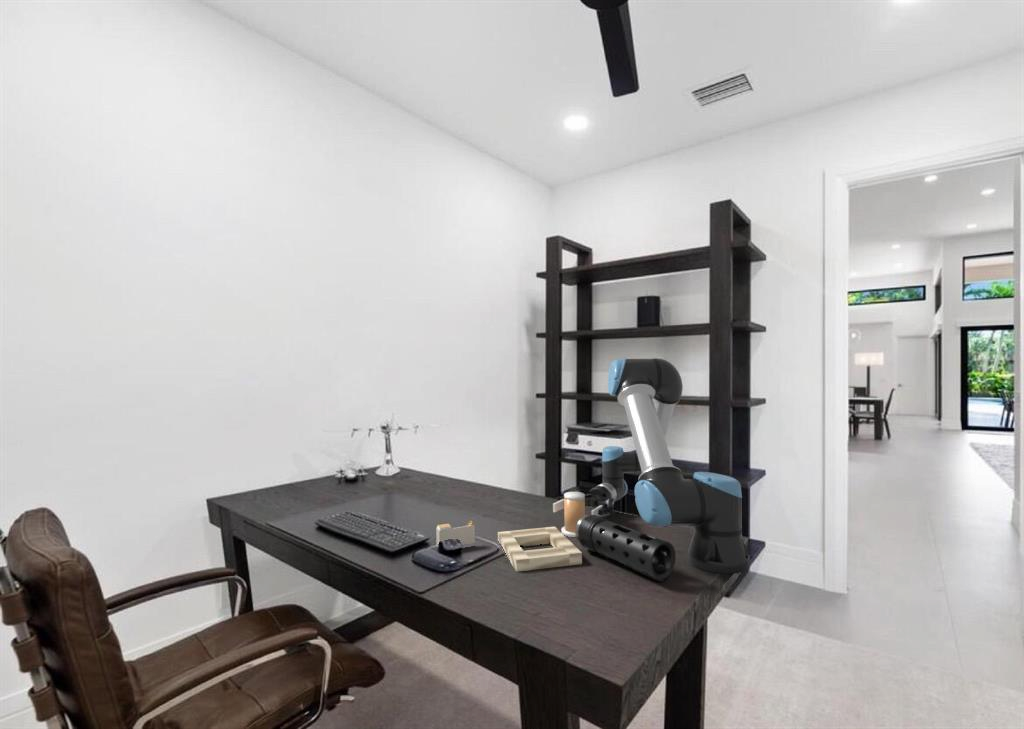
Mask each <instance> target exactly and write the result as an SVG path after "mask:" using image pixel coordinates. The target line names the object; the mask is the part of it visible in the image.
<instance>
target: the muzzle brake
mask: <svg viewBox="0 0 1024 729" xmlns="http://www.w3.org/2000/svg"><path fill="white" fill-rule="evenodd" d="M575 535H576V538H575V539H576V540H577V542H579V543H580V545H581V547H583V548H584V549H587V550H590V552H592V553H593V552H594V553H598V556H599V557H601V556H602V557H601V558H604V559H606V560H610V559H612V560H613V561H617V562H618V563H621V564H623V565H624V567H625V568H629V569H631V570H633V571H634V572H636V573H639V574H641V575H643V576H646V577H648V578H650V579H652V580H654V581H657V582H659V583H662V582H664V581H665V580H666V579H667V578H668V577H669V576H670V575H671V574H672V572H673V570H674V569H675V568H674V567H675V566H676V565H675V564H676V558H677V557H676V550H675V547H674V546H673V545H672V543H671V542H668V541H667V540H666V541H665V540H663V539H660V538H658V537H654V536H652V535H649V534H647V533H644V532H641V531H638V530H635V529H633V528H630V527H627V526H625V525H621V524H618V523H615V522H613V521H610V520H608V519H607V518H605V517H603V516H597V515H591V514H585V516H583V517H582V518H581V519H580V520H579V521H578V523H577V525H576V529H575ZM661 565H662V566H661Z"/></svg>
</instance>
